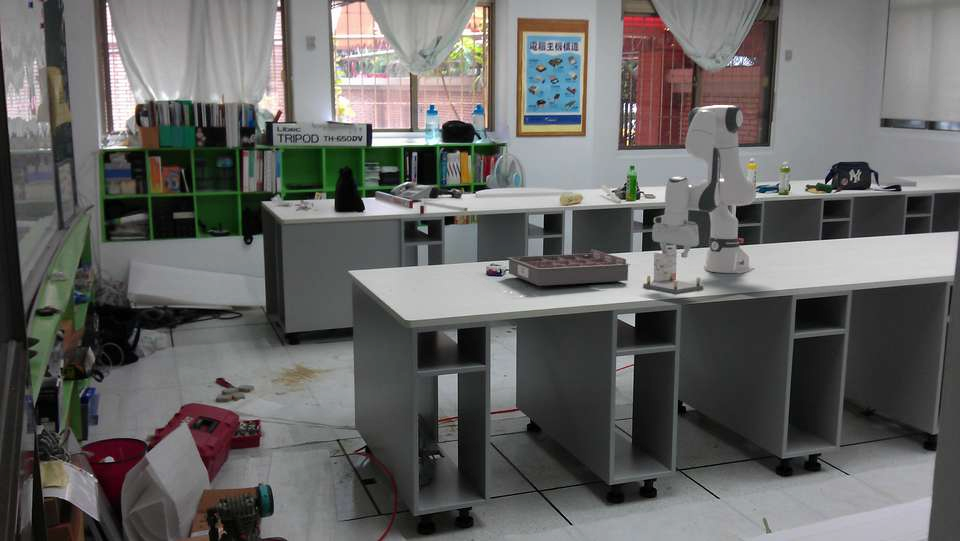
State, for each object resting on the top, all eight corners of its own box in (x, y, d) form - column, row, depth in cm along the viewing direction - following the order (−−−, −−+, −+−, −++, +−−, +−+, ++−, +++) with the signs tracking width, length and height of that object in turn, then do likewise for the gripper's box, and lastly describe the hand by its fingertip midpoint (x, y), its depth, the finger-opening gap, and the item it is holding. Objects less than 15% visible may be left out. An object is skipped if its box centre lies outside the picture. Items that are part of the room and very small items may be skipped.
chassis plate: (670, 283, 353) (671, 272, 353) (703, 289, 341) (703, 277, 340) (643, 287, 344) (643, 275, 343) (675, 293, 331) (676, 281, 330)
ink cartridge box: (666, 278, 365) (668, 243, 362) (676, 280, 361) (677, 244, 358) (652, 280, 359) (654, 244, 357) (662, 282, 355) (663, 245, 353)
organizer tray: (506, 276, 368) (506, 252, 366) (593, 271, 381) (593, 248, 380) (537, 289, 338) (537, 263, 337) (630, 284, 352) (631, 259, 350)
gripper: (703, 221, 332) (701, 258, 334) (661, 217, 348) (659, 252, 350) (692, 222, 328) (690, 259, 330) (650, 218, 344) (648, 253, 346)
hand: (674, 255), depth 340 cm, fingers open, 8 cm apart
